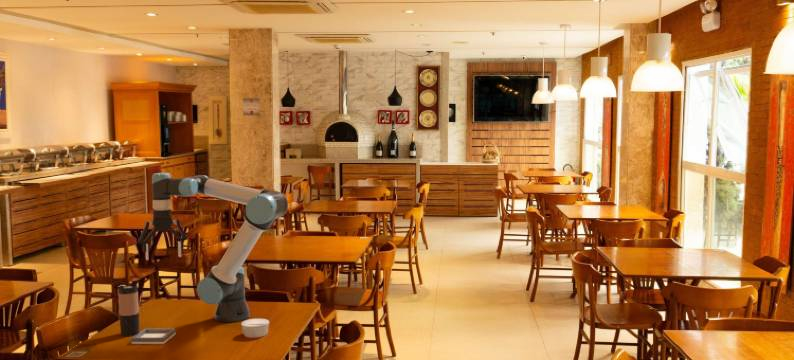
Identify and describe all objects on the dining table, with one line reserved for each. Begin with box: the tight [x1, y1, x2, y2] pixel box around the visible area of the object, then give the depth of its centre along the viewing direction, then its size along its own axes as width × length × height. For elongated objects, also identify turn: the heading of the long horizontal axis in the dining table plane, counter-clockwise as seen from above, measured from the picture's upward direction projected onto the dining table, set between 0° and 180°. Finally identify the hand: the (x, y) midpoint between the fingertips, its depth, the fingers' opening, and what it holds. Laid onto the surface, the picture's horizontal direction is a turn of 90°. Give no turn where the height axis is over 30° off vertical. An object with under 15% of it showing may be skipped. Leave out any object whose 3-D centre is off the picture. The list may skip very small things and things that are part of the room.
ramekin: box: [240, 318, 270, 339], centre depth 297 cm, size 11×11×5 cm
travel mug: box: [117, 283, 140, 337], centre depth 301 cm, size 8×8×20 cm
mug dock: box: [130, 328, 177, 345], centre depth 294 cm, size 13×13×2 cm
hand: (163, 258), depth 315 cm, fingers open, 13 cm apart
